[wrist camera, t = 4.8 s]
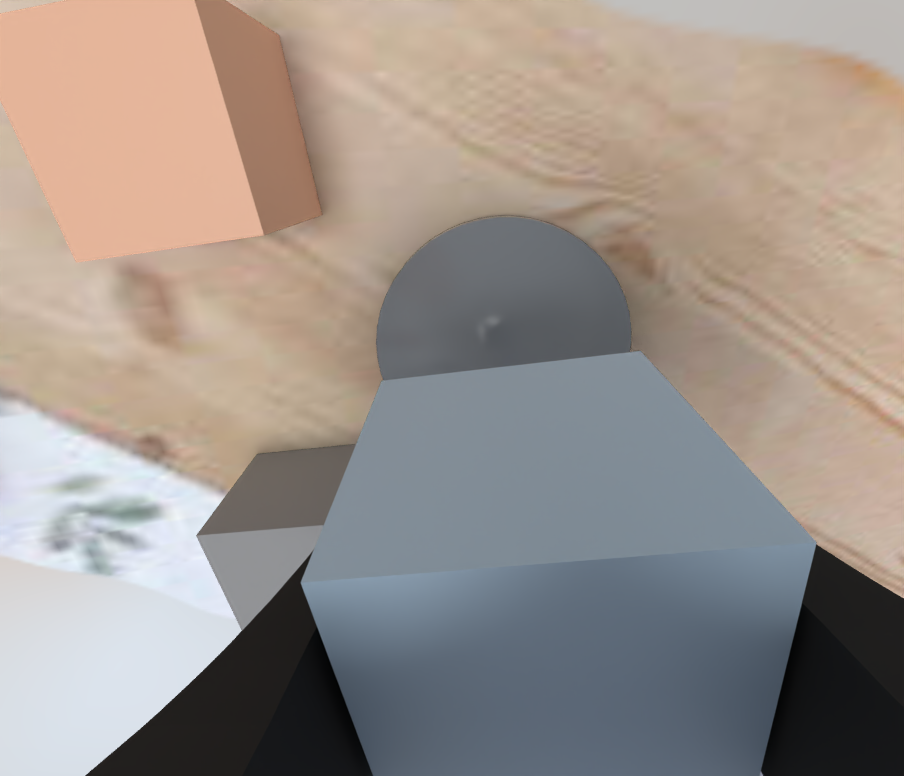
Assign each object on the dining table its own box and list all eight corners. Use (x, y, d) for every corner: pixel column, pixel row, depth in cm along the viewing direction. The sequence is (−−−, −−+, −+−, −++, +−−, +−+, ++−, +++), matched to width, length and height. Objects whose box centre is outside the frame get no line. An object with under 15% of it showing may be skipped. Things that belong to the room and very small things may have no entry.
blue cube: (640, 350, 9) (816, 542, 4) (634, 550, 11) (749, 818, 7) (381, 380, 9) (300, 582, 5) (422, 567, 11) (392, 829, 7)
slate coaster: (676, 290, 16) (685, 295, 16) (543, 477, 20) (545, 489, 19) (443, 164, 15) (442, 165, 14) (346, 390, 19) (340, 399, 18)
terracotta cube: (280, 35, 14) (187, -25, 9) (323, 214, 16) (264, 235, 12) (122, 65, 14) (-37, 21, 10) (184, 234, 16) (76, 262, 12)
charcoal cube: (370, 441, 20) (340, 523, 15) (393, 532, 22) (372, 628, 17) (257, 452, 20) (196, 535, 16) (290, 541, 22) (244, 636, 18)
